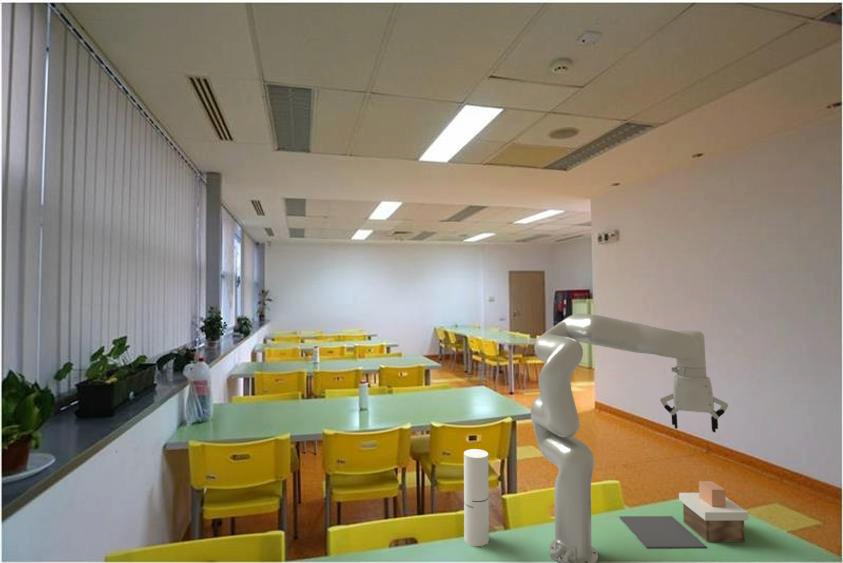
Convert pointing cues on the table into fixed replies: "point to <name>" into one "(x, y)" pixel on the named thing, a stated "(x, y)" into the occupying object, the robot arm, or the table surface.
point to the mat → (661, 532)
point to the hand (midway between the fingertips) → (694, 429)
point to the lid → (713, 503)
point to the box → (714, 528)
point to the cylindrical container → (476, 497)
